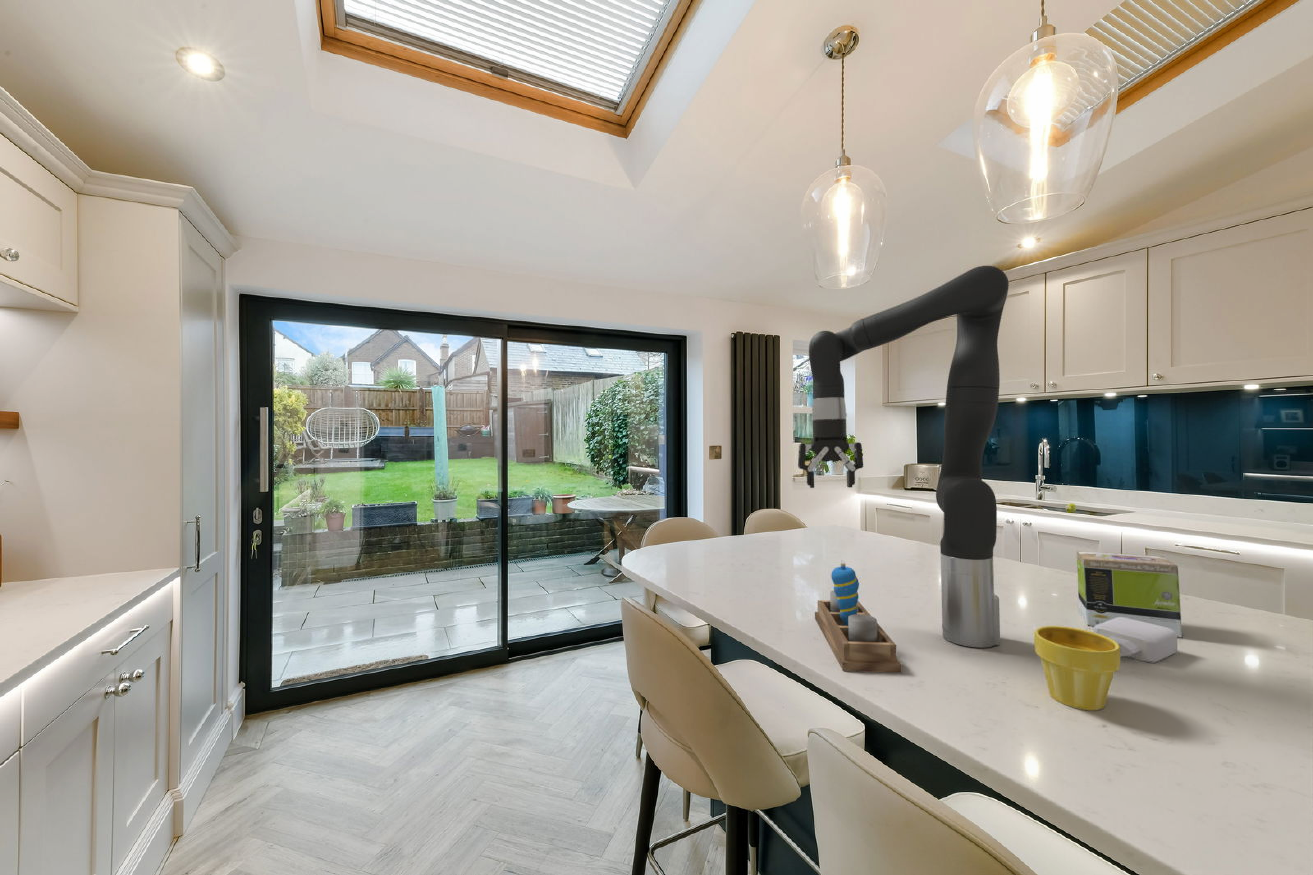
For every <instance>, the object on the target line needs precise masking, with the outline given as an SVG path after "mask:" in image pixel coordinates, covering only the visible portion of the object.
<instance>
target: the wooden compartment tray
mask: <svg viewBox="0 0 1313 875" xmlns="http://www.w3.org/2000/svg"><path fill="white" fill-rule="evenodd" d="M829 594H830V598H829V599H830V600H824V599H823V600H822V599H821V600H820V599H819V600H817V611H814V619H815V621H816V623H817V625H818V627H819V629H820V631H821V632H822V635H823V636H824V638H825V640H826V642H827V644H828V646H829V648H830V649H831V652H832V653H833V655H834V657H835V659H836V660H837V663H838V664H839V666H840V669H841V671H843V672H862V673H863V672H870V673H894V674H895V673H897V674H902V673H903V670H902V667H903V666H902V663H901V662H900V661H899V660H898V658H897V644H896V643H895V641H893V639H892V638H891V637H890V636H889V635H888V634H887V632H886V631H885V630H884V629H883V628H882V627H881V625H880V624H879V623H878V619H877V618H876V617H874V616H872V615H871V614H870V613H869V612H868V610H867V609H866V608H865V607H864V606H863V604H862V603H860V601H859V600H858V602H857V614H854V615H850V616H849V617H848V626H844V624H843V622H842V620H841V617H840V609H839V607H838V604H837V596H836V594H835V592H834V590H831V591H830V593H829Z"/></svg>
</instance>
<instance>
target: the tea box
mask: <svg viewBox="0 0 1313 875" xmlns="http://www.w3.org/2000/svg"><path fill="white" fill-rule="evenodd" d="M1076 567H1077V568H1076V569H1077V587H1078V588H1077V589H1078V590H1077V592H1078V595H1077V596H1078V606H1079V613H1080V614H1081V615H1082V616H1081V617H1082V618H1083V619H1084V621H1085V624H1086V625H1087V626H1092V627H1094V626H1095V625H1098V624H1101V623H1104V622H1106V621H1109V620H1112V619H1114V618H1117V617H1124V618H1129V619H1133V620H1137V621H1141V622H1146V623H1150V624H1154V625H1158V626H1163V627H1166V628H1169V629H1172V630H1173V631H1175V632H1176V633H1177V638H1182V636H1183V634H1182V629H1183V628H1182V614H1181V613H1182V612H1181V611H1182V610H1181V597H1180V596H1181V595H1180V580H1179V566H1178V565H1177V564H1175V563H1174V562H1172V561H1170V560H1169V559H1167V558H1165V557H1164V556H1161V555H1149V554H1148V555H1147V554H1133V553H1132V554H1131V553H1114V552H1101V551H1100V552H1098V551H1086V550H1085V551H1084V550H1083V551H1081V550H1077V551H1076Z"/></svg>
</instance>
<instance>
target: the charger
mask: <svg viewBox="0 0 1313 875" xmlns="http://www.w3.org/2000/svg"><path fill="white" fill-rule="evenodd" d="M1093 632H1094V633H1098V634H1100V635H1103V636H1106V637H1108V638H1110V639H1112V640H1114V641H1115V642H1117V643H1118V645H1119V646H1120V657H1128V658H1130V659H1131V658H1132V659H1134V660H1137V661H1141V662H1145V663H1151V664H1155V663H1157V662H1160V661H1161V660H1163V659H1166V658H1167V657H1169V656H1172V655H1174V654H1176V653H1177V652H1178V651H1179V650H1178V637H1177V633H1176V632H1175V631H1173V630H1172V629H1169V628H1166V627H1163V626H1158V625H1154V624H1150V623H1146V622H1141V621H1137V620H1133V619H1129V618H1124V617H1117V618H1114V619H1112V620H1109V621H1106V622H1104V623H1101V624H1098V625H1095V626H1093Z"/></svg>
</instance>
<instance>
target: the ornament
mask: <svg viewBox="0 0 1313 875" xmlns="http://www.w3.org/2000/svg"><path fill="white" fill-rule="evenodd" d="M830 576H831V581H832V583H833V585H834V586H833V591H834V592H835V594H836V596H837V604H838V607H839V609H840V617H841V620H842V622H843V624H844V626H848V617H849V616H850V615H854V614H857V602H858V601H859V593H858V591H859V587H860V582H859V579H858V577H857V574H856V571H855V570H854V568H852V567H850V566H846V562H843V560H841V563H840V566H838V567H835V568H834V569H832V571H831V575H830Z"/></svg>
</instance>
